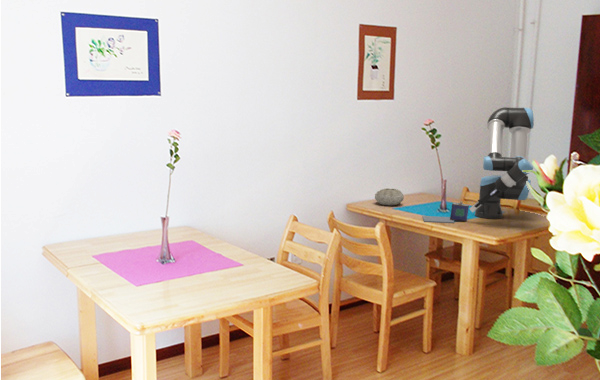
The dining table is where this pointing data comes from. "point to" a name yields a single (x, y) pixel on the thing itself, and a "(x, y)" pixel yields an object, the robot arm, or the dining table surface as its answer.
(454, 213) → the flask
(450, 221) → the mat
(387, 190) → the cratered grey rock
